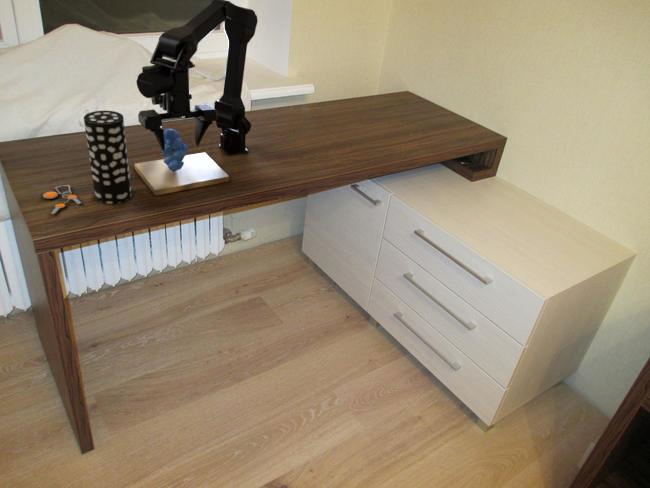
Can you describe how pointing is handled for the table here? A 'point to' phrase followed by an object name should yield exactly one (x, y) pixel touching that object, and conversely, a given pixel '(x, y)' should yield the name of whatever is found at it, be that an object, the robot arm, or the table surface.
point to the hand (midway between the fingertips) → (180, 147)
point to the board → (181, 174)
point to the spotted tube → (108, 156)
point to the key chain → (54, 194)
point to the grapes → (173, 150)
